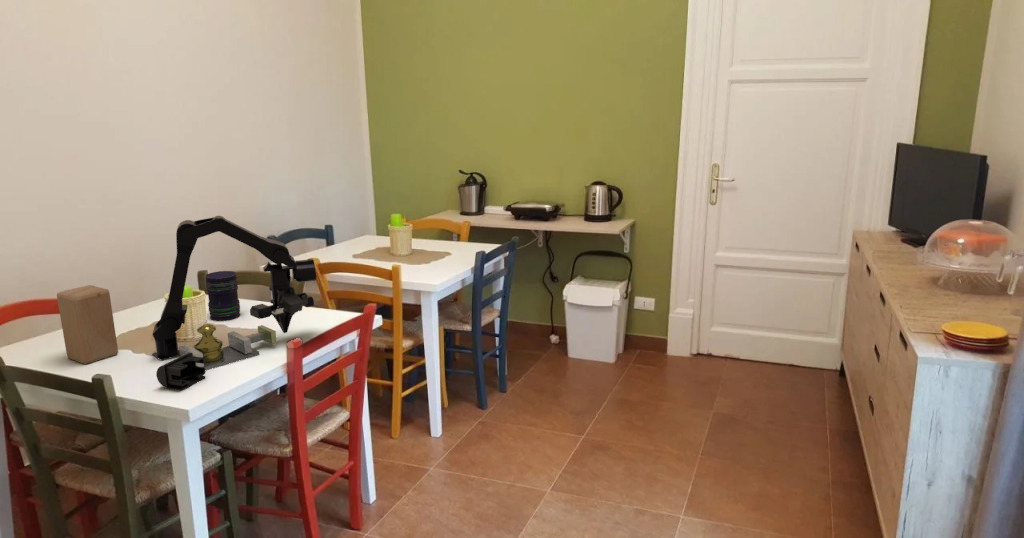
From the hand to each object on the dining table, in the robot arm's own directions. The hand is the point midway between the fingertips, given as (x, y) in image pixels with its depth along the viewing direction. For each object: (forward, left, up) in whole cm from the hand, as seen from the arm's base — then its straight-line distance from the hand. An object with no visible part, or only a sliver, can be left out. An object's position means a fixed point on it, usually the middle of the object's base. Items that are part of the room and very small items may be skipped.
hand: (285, 332), depth 212 cm
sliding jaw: (0, -10, -1) cm, 11 cm away
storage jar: (-36, -2, -3) cm, 36 cm away
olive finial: (0, -24, -2) cm, 24 cm away
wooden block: (-29, -45, -3) cm, 53 cm away
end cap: (+9, -35, -3) cm, 37 cm away
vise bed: (0, -21, -2) cm, 21 cm away
